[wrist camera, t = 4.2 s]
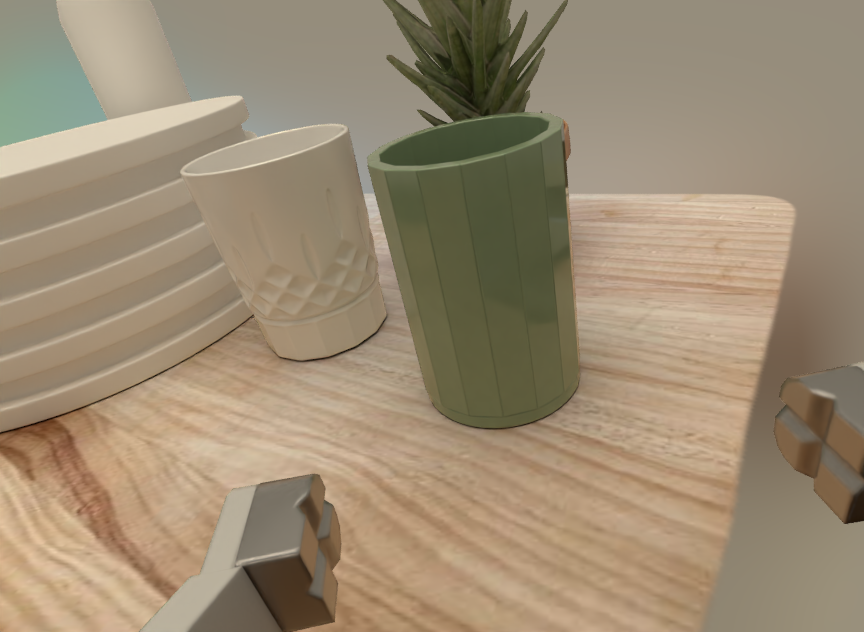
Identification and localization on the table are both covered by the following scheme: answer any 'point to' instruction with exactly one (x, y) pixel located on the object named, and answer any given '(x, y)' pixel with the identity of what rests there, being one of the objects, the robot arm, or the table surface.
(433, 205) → the tumbler
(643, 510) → the table surface
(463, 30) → the potted plant
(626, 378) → the table surface
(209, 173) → the white cup
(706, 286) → the table surface
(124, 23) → the bottle
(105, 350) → the plate stack
